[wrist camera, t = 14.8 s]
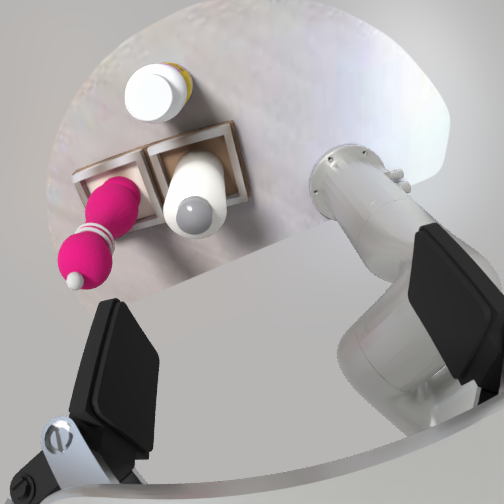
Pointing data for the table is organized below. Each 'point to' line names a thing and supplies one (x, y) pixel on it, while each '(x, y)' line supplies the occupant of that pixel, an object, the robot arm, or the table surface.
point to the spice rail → (167, 170)
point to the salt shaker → (196, 195)
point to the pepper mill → (99, 233)
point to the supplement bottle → (158, 92)
